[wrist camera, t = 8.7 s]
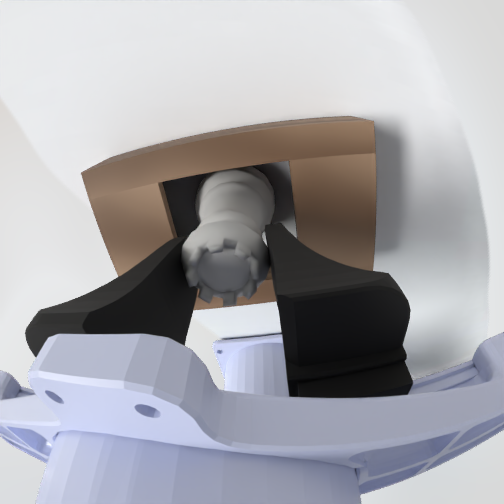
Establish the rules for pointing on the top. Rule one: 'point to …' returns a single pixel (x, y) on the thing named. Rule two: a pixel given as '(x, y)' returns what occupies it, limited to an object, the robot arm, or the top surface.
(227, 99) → the top surface
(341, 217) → the brown wooden hollow block
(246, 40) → the top surface
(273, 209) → the rook chess piece
